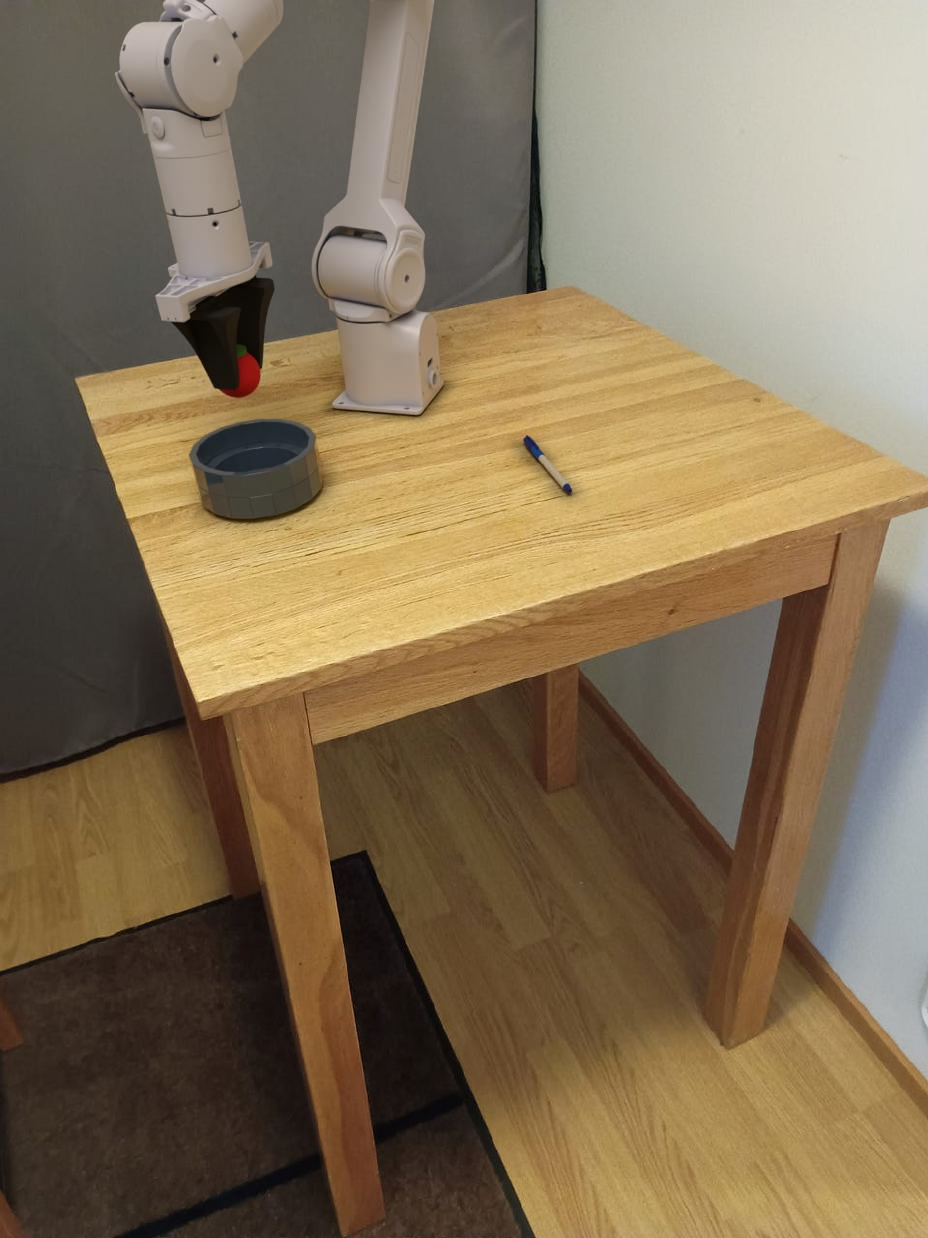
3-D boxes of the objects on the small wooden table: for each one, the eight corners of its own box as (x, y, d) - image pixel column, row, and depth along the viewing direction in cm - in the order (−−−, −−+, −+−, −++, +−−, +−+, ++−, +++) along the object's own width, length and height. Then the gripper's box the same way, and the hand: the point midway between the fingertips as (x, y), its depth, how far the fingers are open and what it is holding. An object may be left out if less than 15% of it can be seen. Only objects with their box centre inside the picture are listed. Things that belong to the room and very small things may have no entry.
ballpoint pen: (519, 443, 84) (519, 433, 84) (529, 441, 85) (528, 431, 84) (567, 495, 76) (567, 485, 76) (576, 493, 77) (577, 483, 76)
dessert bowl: (342, 469, 82) (335, 423, 80) (291, 530, 75) (281, 481, 72) (238, 459, 85) (228, 414, 83) (178, 517, 77) (165, 468, 75)
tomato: (272, 388, 81) (264, 342, 78) (250, 407, 78) (241, 359, 75) (231, 385, 82) (222, 339, 79) (208, 403, 79) (198, 356, 76)
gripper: (206, 185, 77) (238, 344, 85) (103, 231, 66) (150, 409, 74) (282, 186, 75) (307, 349, 83) (189, 234, 64) (228, 416, 72)
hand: (238, 377), depth 79 cm, fingers closed on tomato, 3 cm apart
